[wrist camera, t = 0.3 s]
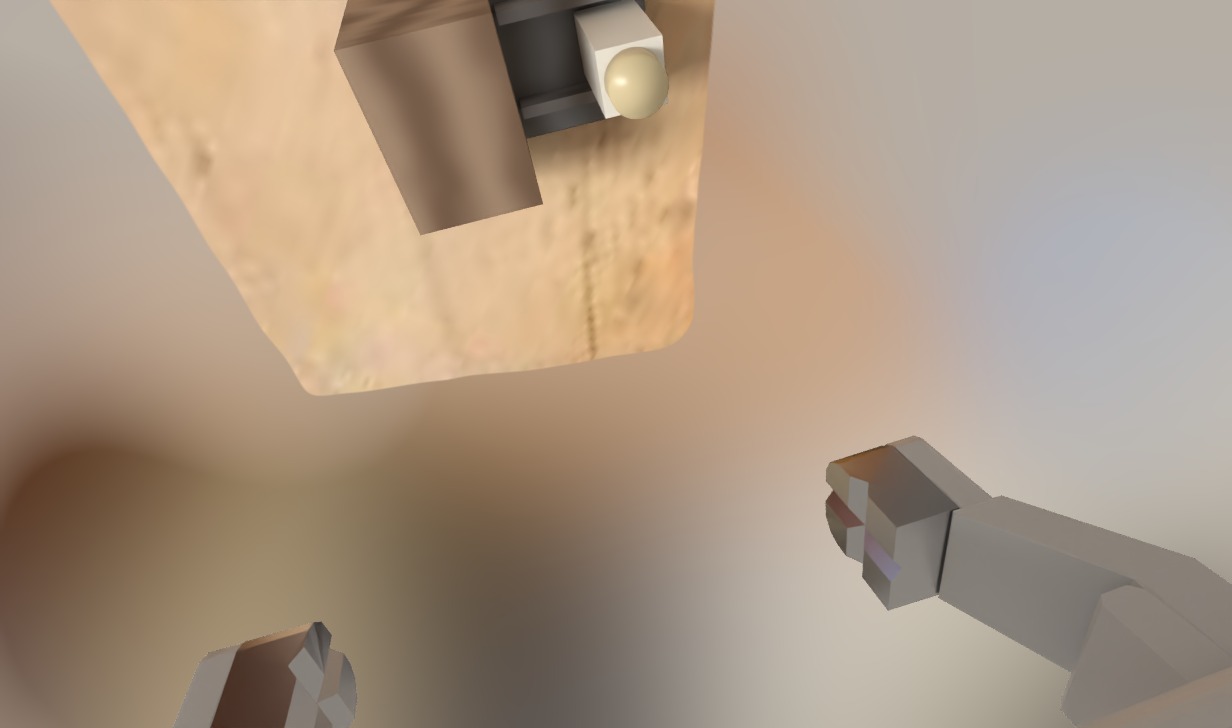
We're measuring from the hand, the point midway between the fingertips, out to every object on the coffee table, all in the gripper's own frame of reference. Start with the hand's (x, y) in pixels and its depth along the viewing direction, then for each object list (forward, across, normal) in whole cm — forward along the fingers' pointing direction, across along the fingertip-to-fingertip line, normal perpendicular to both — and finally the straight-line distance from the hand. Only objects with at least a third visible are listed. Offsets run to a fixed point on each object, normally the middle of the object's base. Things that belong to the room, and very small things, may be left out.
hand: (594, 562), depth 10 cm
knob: (+50, -13, -5) cm, 51 cm away
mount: (+52, -4, -5) cm, 52 cm away
